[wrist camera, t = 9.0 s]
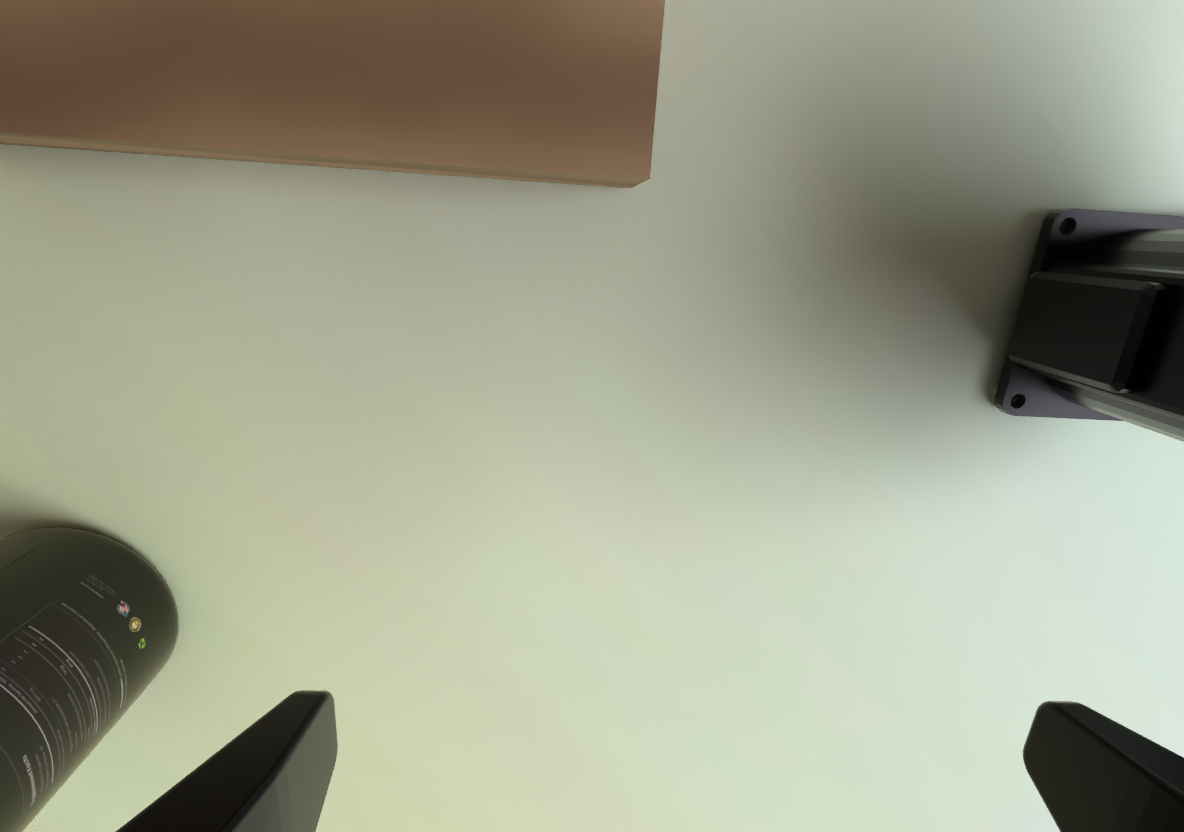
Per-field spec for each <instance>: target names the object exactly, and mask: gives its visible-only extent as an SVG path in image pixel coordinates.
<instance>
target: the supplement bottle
mask: <svg viewBox="0 0 1184 832" xmlns="http://www.w3.org/2000/svg"><path fill="white" fill-rule="evenodd" d="M177 636H178V613H177V607H176V604H175V601H174V598H173V595H172V593H171V591H170V589H169V587H168V585H167V584H166V582H165V581H164V579H163V578H162V576H161V575H160V574H159V573H158V571H157V570H156V569H155V568H154V567H153V566H152V565H151V564H150V563H149V562H148V561H147V560H145V559H144V558H143V557H142V556H141V555H139V554H138V553H136V552H135V551H134V550H132V549H130V548H129V547H127V546H125V545H124V544H122V543H120V542H118V541H116V540H113V539H111V538H109V537H106V536H103V535H100V534H97V533H93V532H89V531H85V530H79V529H73V528H54V527H52V528H38V529H32V530H27V531H23V532H19V533H16V534H13V535H10V536H7V537H5V538H3V539H1V540H0V832H22V831H23V830H24V829H25V828H26V827H27V826H28V825H29V823H30V822H31V821H32V820H33V819H34V818H35V816H36V815H37V814H38V813H39V812H40V811H41V809H42V808H43V807H44V806H45V805H46V804H47V803H48V801H49V800H50V799H51V798H52V797H53V796H54V794H55V793H56V792H57V791H58V790H59V789H60V787H61V786H62V785H63V784H64V783H65V782H66V781H67V779H68V778H69V777H70V776H71V775H72V774H73V772H74V771H75V770H76V769H77V768H78V767H79V765H80V764H81V763H82V762H83V761H84V760H85V758H86V757H87V756H88V755H89V754H90V753H91V752H92V750H93V749H94V748H95V747H96V746H97V745H98V743H99V742H100V741H101V740H102V739H103V738H104V736H105V735H106V734H107V733H108V732H109V731H110V730H111V728H112V727H113V726H114V725H115V724H116V723H117V721H118V720H119V719H120V718H121V717H122V716H123V714H124V713H125V712H126V711H127V710H128V709H129V708H130V706H131V705H132V704H133V703H134V702H135V701H136V699H137V698H138V697H139V696H140V695H141V694H142V692H143V691H144V690H145V689H146V688H147V686H148V685H149V684H150V683H151V681H152V680H153V679H154V678H155V677H156V675H157V674H158V673H159V672H160V671H161V669H162V668H163V667H164V665H165V664H166V662H167V661H168V659H169V658H170V656H171V654H172V652H173V649H174V647H175V644H176V641H177Z"/></svg>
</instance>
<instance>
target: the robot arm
mask: <svg viewBox="0 0 1184 832" xmlns="http://www.w3.org/2000/svg"><path fill="white" fill-rule="evenodd" d="M1063 220H1065V222H1066V227H1065V229H1064V231H1063V232H1062V233H1061V232H1060V225H1061V223H1062V221H1063ZM1016 394H1017V399H1016V401H1015V402H1014V403H1013V404H1011V399H1012V397H1013V396H1015V395H1016ZM995 404H996V407H997V408H998V409H999V410H1000V411H1002V412H1005V413H1007V414H1010V415H1014V416H1033V417H1054V418H1075V419H1096V420H1117V421H1127V422H1129V423H1132V424H1135V425H1138V426H1141V427H1144V428H1146V429H1149V430H1152V431H1155V432H1158V433H1161V434H1164V435H1166V436H1169V437H1172V438H1175V439H1178V440H1181V441H1184V217H1180V216H1166V215H1152V214H1138V213H1124V212H1110V211H1096V210H1082V209H1060V210H1055V211H1054V212H1052V213H1050V214H1049V215H1048V216H1047V218H1046V219H1045V221H1044V223H1043V225H1042V228H1041V232H1040V236H1039V239H1038V243H1037V247H1036V250H1035V254H1034V258H1033V261H1032V265H1031V269H1030V272H1029V276H1028V280H1027V283H1026V287H1025V290H1024V294H1023V298H1022V301H1021V305H1020V309H1019V312H1018V316H1017V320H1016V323H1015V327H1014V331H1013V334H1012V338H1011V342H1010V345H1009V349H1008V353H1007V356H1006V360H1005V364H1004V367H1003V371H1002V375H1001V378H1000V382H999V385H998V389H997V393H996V396H995ZM336 756H337V732H336V720H335V708H334V699H333V697H332V694H331V693H330V692H328V691H304V690H301V691H296V692H294V693H292V694H291V695H289V696H288V697H287V698H285V699H284V700H283V701H282V702H280V703H279V704H278V705H277V706H275V707H274V708H273V709H271V710H270V711H269V712H268V713H266V714H265V715H264V716H263V717H261V718H260V719H259V720H257V721H256V722H255V723H254V724H252V725H251V726H250V727H249V728H247V729H246V730H245V731H243V732H242V733H241V734H240V735H238V736H237V737H236V738H235V739H233V740H232V741H231V742H229V743H228V744H227V745H226V746H224V747H223V748H222V749H221V750H219V751H218V752H217V753H215V754H214V755H213V756H212V757H210V758H209V759H208V760H207V761H205V762H204V763H203V764H201V765H200V766H199V767H198V768H196V769H195V770H194V771H193V772H191V773H190V774H189V775H187V776H186V777H185V778H184V779H182V780H181V781H180V782H179V783H177V784H176V785H175V786H173V787H172V788H171V789H170V790H168V791H167V792H166V793H165V794H163V795H162V796H161V797H159V798H158V799H157V800H156V801H154V802H153V803H152V804H151V805H149V806H148V807H147V808H145V809H144V810H143V811H142V812H140V813H139V814H138V815H137V816H135V817H134V818H133V819H131V820H130V821H129V822H128V823H126V824H125V825H124V826H123V827H121V828H120V829H119V830H117V831H116V832H315V831H316V828H317V824H318V821H319V817H320V814H321V811H322V807H323V804H324V800H325V797H326V794H327V790H328V787H329V783H330V780H331V777H332V773H333V770H334V766H335V762H336ZM1023 759H1024V764H1025V767H1026V769H1027V772H1028V774H1029V775H1030V777H1031V779H1032V781H1033V783H1034V784H1035V786H1036V788H1037V790H1038V792H1039V794H1040V795H1041V797H1042V799H1043V801H1044V803H1045V804H1046V806H1047V808H1048V810H1049V812H1050V813H1051V815H1052V817H1053V819H1054V821H1055V822H1056V824H1057V826H1058V828H1059V830H1060V831H1061V832H1184V758H1183V757H1181V756H1179V755H1177V754H1176V753H1174V752H1172V751H1170V750H1168V749H1166V748H1164V747H1162V746H1160V745H1159V744H1157V743H1155V742H1153V741H1151V740H1149V739H1147V738H1145V737H1143V736H1142V735H1140V734H1138V733H1136V732H1134V731H1132V730H1130V729H1128V728H1126V727H1124V726H1123V725H1121V724H1119V723H1117V722H1115V721H1113V720H1111V719H1109V718H1107V717H1106V716H1104V715H1102V714H1100V713H1098V712H1096V711H1094V710H1092V709H1090V708H1089V707H1087V706H1085V705H1083V704H1080V703H1077V702H1071V701H1047V702H1043V703H1042V704H1041V705H1040V706H1039V707H1038V709H1037V711H1036V714H1035V717H1034V720H1033V722H1032V725H1031V728H1030V731H1029V734H1028V737H1027V739H1026V742H1025V745H1024V749H1023Z"/></svg>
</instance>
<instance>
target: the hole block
mask: <svg viewBox="0 0 1184 832" xmlns="http://www.w3.org/2000/svg"><path fill="white" fill-rule="evenodd" d="M664 3H665V0H0V144H10V145H25V146H39V147H53V148H67V149H82V150H96V151H110V152H124V153H139V154H153V155H167V156H181V157H196V158H210V159H224V160H238V161H253V162H267V163H281V164H295V165H310V166H324V167H338V168H352V169H367V170H381V171H395V172H409V173H424V174H438V175H452V176H466V177H481V178H495V179H509V180H523V181H538V182H552V183H566V184H581V185H595V186H609V187H623V188H632V187H634V186H636V185H638V184H640V183H642V182H644V181H646V180H648V179H650V167H651V156H652V144H653V132H654V121H655V109H656V97H657V85H658V74H659V62H660V50H661V39H662V27H663V15H664Z"/></svg>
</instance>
